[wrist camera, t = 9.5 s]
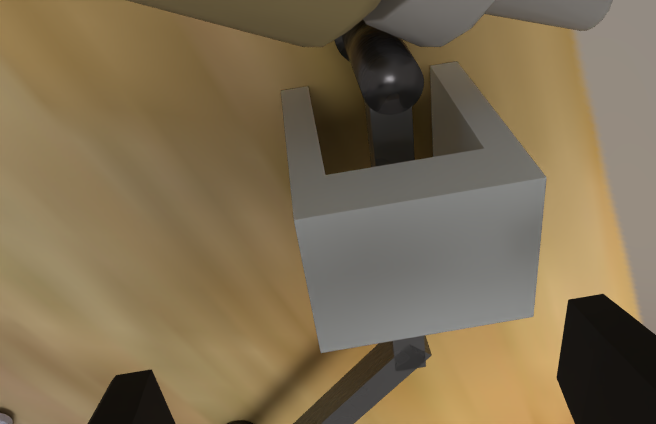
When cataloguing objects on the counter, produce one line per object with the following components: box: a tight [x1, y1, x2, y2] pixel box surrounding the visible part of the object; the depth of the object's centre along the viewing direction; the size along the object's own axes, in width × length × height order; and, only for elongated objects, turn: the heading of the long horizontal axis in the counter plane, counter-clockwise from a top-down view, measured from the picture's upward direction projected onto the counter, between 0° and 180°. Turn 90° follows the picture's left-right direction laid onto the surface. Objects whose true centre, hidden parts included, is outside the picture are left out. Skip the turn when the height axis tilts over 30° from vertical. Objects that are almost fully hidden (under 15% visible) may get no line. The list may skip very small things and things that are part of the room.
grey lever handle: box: [229, 19, 431, 424], centre depth 20 cm, size 20×6×4 cm, turn 159°
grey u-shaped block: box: [281, 61, 546, 353], centre depth 16 cm, size 4×5×6 cm
